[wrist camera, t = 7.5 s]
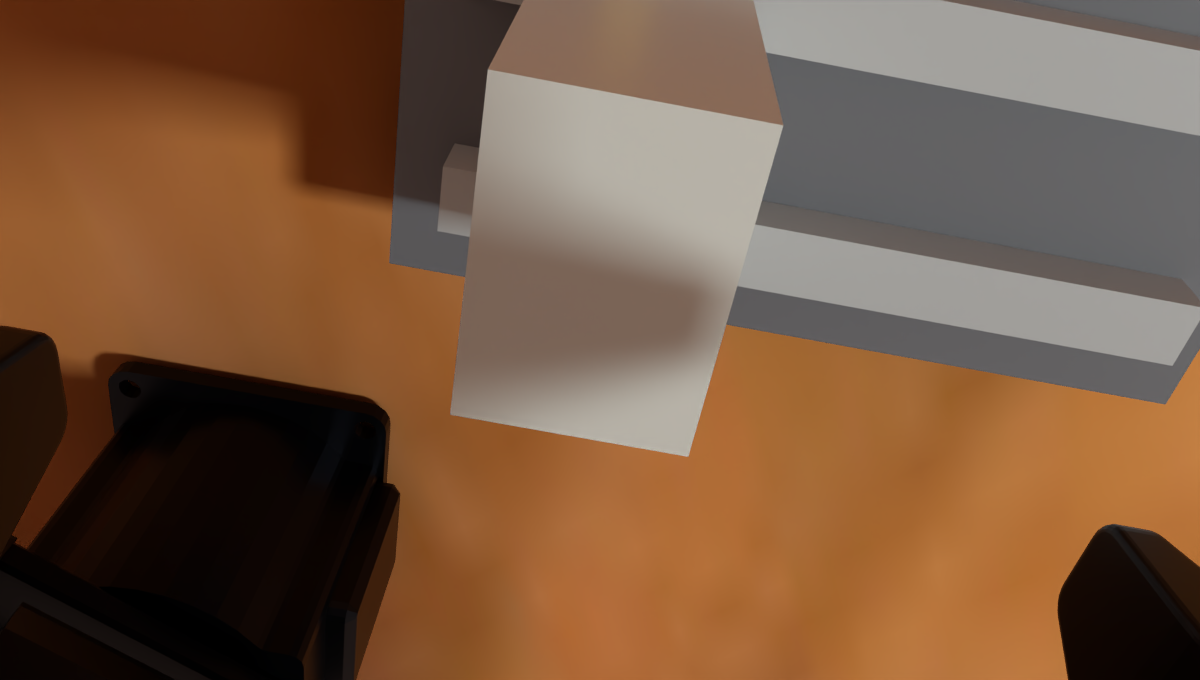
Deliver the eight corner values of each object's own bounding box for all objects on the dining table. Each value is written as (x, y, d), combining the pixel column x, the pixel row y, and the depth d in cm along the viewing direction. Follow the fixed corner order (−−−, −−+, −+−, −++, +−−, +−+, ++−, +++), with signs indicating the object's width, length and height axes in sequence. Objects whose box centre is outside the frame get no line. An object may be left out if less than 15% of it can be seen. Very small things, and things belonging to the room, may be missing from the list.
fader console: (419, 204, 20) (375, 290, 18) (452, -235, 16) (401, -219, 13) (1117, 334, 21) (1187, 437, 18) (1332, -58, 17) (1473, -6, 14)
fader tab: (518, 200, 17) (451, 414, 12) (554, -60, 15) (487, 69, 10) (686, 231, 17) (688, 456, 12) (747, -22, 15) (783, 125, 10)
